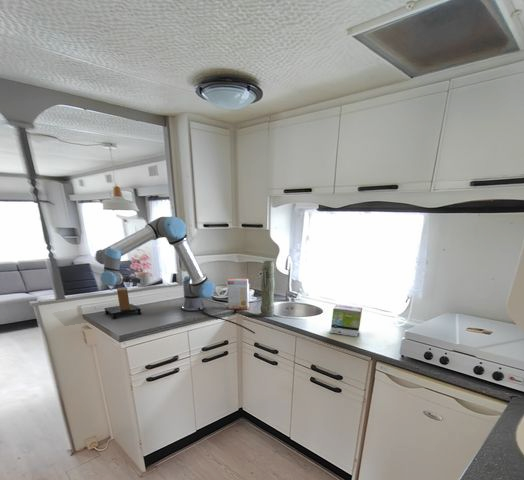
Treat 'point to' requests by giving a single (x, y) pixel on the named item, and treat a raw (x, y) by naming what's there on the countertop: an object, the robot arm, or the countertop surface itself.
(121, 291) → the packet
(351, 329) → the tea box
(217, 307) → the countertop surface
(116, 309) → the black footed platform
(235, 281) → the cracker box
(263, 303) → the thermos
